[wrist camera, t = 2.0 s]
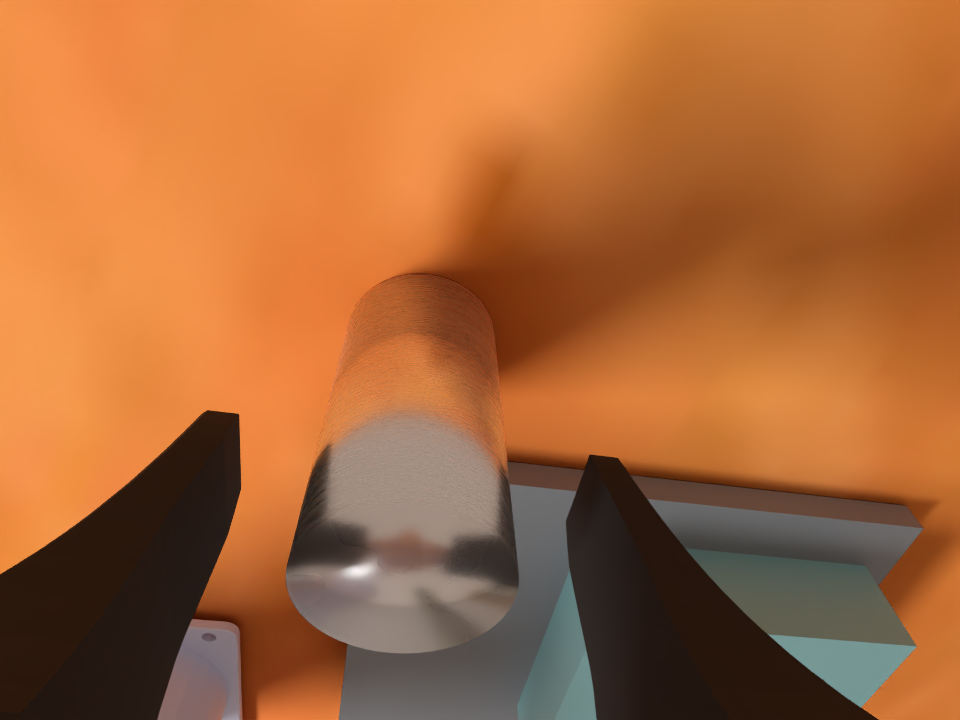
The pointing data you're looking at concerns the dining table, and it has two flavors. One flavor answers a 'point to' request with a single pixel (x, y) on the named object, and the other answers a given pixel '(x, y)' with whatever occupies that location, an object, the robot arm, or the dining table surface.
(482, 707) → the block
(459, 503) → the pin
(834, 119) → the dining table surface
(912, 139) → the dining table surface
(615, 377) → the dining table surface
